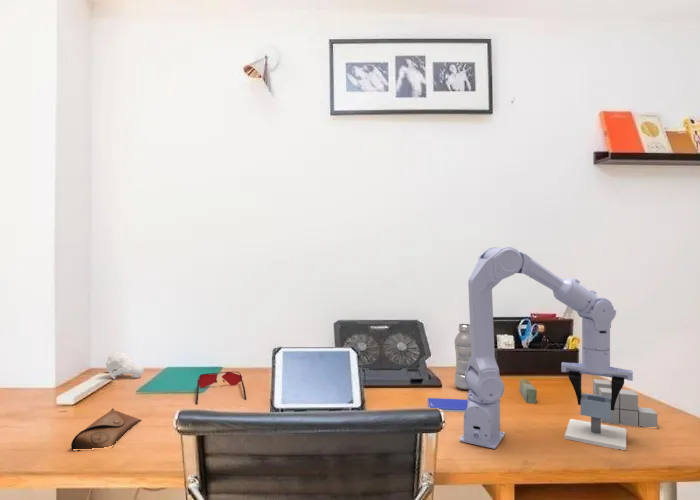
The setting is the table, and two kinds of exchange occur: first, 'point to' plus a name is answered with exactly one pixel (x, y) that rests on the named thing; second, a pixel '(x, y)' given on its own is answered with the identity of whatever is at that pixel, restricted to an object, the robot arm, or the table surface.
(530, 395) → the medication box
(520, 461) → the table surface
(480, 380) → the robot arm
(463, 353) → the plastic bottle
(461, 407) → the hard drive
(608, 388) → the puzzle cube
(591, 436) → the post plate
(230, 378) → the glasses
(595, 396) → the grey square ring
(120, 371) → the white lumpy piece
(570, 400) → the table surface
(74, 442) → the sunglasses case
